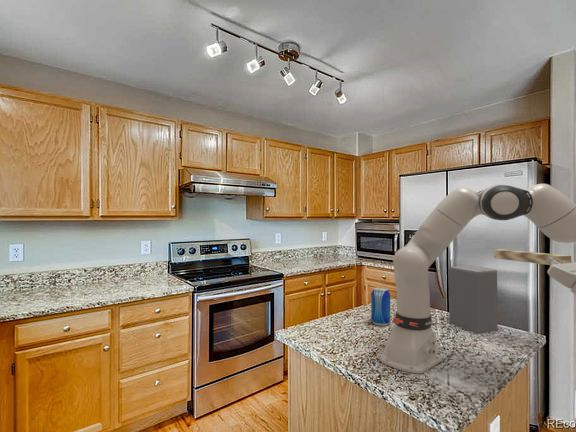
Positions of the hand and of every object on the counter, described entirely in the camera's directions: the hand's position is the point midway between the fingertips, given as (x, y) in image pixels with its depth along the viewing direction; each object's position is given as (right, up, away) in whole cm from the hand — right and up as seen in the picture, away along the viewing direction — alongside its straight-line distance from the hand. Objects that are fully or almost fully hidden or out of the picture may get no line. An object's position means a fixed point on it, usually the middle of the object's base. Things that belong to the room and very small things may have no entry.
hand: (553, 258), depth 107 cm
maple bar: (-3, -2, +7) cm, 8 cm away
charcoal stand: (-11, -35, +29) cm, 46 cm away
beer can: (-51, -35, +33) cm, 70 cm away
